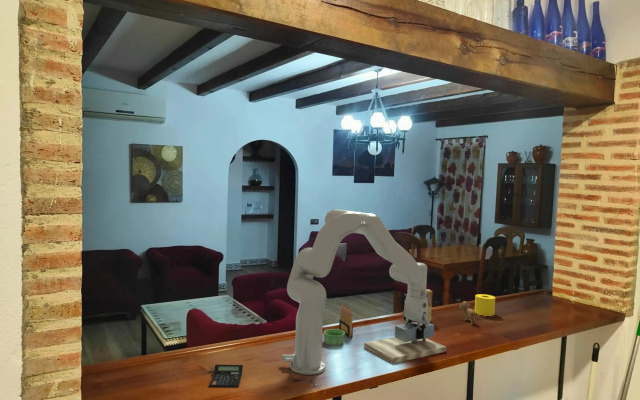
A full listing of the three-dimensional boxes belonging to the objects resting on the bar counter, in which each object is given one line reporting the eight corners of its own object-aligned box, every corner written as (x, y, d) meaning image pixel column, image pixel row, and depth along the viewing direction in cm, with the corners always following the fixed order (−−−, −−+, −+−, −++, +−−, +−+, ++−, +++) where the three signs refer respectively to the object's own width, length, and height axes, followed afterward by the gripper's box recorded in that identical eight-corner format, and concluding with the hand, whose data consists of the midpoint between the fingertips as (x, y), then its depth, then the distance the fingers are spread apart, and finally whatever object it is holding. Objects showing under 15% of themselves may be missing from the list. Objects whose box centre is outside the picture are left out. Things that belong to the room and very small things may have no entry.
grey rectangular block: (404, 342, 179) (405, 329, 179) (394, 337, 184) (395, 325, 184) (433, 336, 187) (434, 324, 187) (423, 332, 192) (424, 320, 192)
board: (392, 363, 168) (393, 342, 168) (364, 347, 184) (364, 328, 183) (446, 351, 183) (446, 332, 182) (415, 337, 198) (415, 319, 198)
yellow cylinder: (470, 311, 245) (471, 294, 245) (486, 311, 248) (487, 294, 247) (481, 316, 236) (482, 299, 235) (498, 316, 238) (499, 298, 238)
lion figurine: (457, 317, 233) (458, 300, 232) (466, 317, 234) (467, 300, 233) (472, 326, 218) (473, 308, 218) (482, 326, 219) (483, 307, 219)
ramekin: (333, 337, 195) (333, 327, 195) (349, 343, 188) (349, 332, 188) (318, 341, 188) (319, 331, 188) (334, 348, 182) (334, 337, 182)
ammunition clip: (352, 337, 196) (353, 310, 195) (348, 337, 195) (350, 310, 194) (342, 329, 205) (343, 303, 205) (338, 330, 205) (339, 303, 204)
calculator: (208, 387, 143) (209, 378, 143) (215, 372, 155) (215, 364, 155) (238, 388, 144) (238, 378, 144) (242, 373, 155) (243, 364, 155)
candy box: (427, 319, 227) (429, 289, 227) (431, 321, 223) (432, 291, 223) (411, 319, 226) (412, 289, 225) (414, 322, 221) (416, 291, 221)
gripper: (438, 297, 180) (436, 341, 180) (409, 287, 194) (406, 328, 195) (424, 298, 176) (422, 344, 176) (395, 289, 190) (393, 331, 191)
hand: (414, 335), depth 185 cm, fingers closed on grey rectangular block, 6 cm apart
